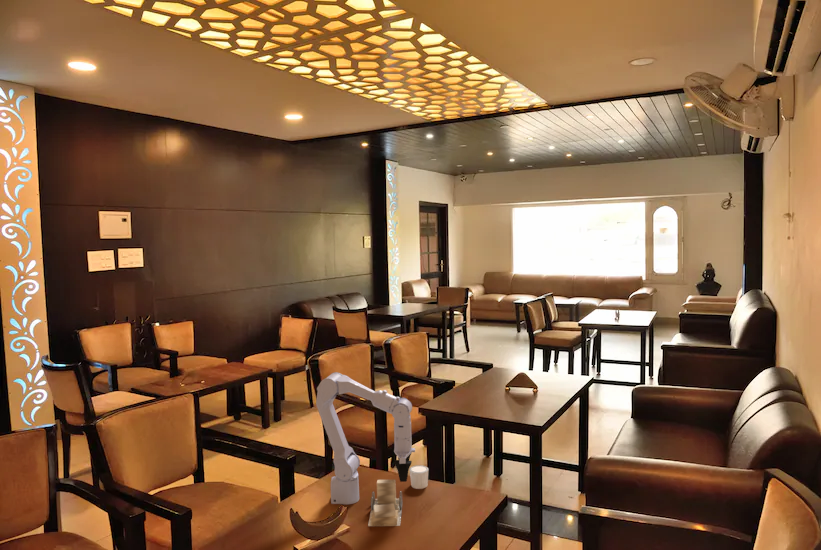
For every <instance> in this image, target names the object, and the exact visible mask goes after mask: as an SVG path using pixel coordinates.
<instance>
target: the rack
mask: <svg viewBox="0 0 821 550" xmlns="http://www.w3.org/2000/svg"><path fill="white" fill-rule="evenodd" d="M375 497H376V496H375V491H372V492H371V497H370V509H371V510H370V514H369V520H368V524H367V527H400V526H401V522H402V513H403V511H402V510H403V491H402V490H400V491H399V497H398V498H397V497H396V504H394V506H395V510H398V521H397V524H371V517H372V512H373V510H374V505H384V504H377V498H375Z"/></svg>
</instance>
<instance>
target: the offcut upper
mask: <svg viewBox="0 0 821 550" xmlns="http://www.w3.org/2000/svg"><path fill="white" fill-rule="evenodd" d="M374 515H375V518H385V517H395V516H396V513H395V506H394V504H384V505H374Z"/></svg>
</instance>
